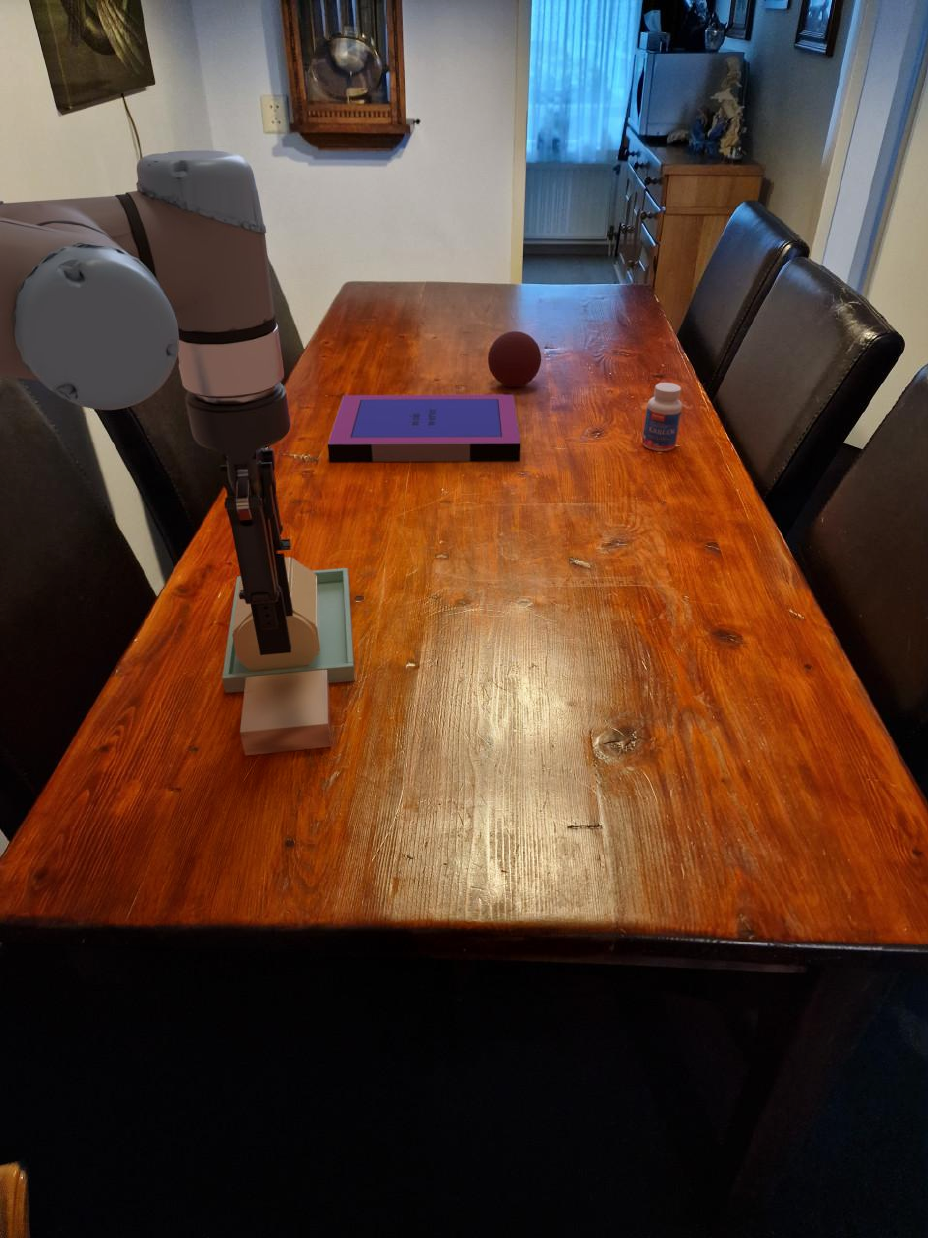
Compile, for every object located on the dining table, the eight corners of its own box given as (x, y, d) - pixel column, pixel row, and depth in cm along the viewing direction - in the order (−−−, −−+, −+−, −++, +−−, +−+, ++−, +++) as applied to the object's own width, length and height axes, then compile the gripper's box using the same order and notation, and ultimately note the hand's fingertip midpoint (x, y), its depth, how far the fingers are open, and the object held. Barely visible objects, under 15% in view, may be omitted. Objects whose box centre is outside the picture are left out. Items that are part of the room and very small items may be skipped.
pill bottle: (642, 451, 131) (650, 392, 126) (640, 437, 136) (648, 380, 130) (677, 452, 131) (687, 393, 125) (674, 439, 135) (683, 381, 129)
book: (520, 443, 127) (327, 444, 127) (519, 461, 128) (329, 461, 128) (513, 394, 144) (343, 395, 144) (513, 410, 145) (344, 411, 145)
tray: (355, 680, 85) (353, 665, 84) (225, 693, 83) (221, 678, 82) (349, 581, 100) (347, 567, 99) (239, 590, 99) (236, 576, 98)
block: (244, 756, 76) (239, 732, 74) (250, 699, 83) (245, 677, 81) (331, 747, 77) (327, 723, 75) (330, 692, 84) (327, 669, 82)
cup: (314, 608, 80) (314, 554, 88) (226, 616, 79) (235, 560, 87) (323, 674, 85) (322, 617, 93) (240, 682, 84) (247, 624, 92)
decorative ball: (540, 377, 160) (543, 324, 154) (539, 395, 152) (542, 341, 146) (489, 375, 160) (490, 323, 155) (485, 393, 152) (486, 339, 146)
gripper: (198, 351, 69) (243, 583, 82) (165, 436, 54) (226, 700, 68) (288, 347, 69) (318, 577, 83) (280, 429, 55) (317, 691, 69)
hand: (277, 632), depth 75 cm, fingers open, 5 cm apart
